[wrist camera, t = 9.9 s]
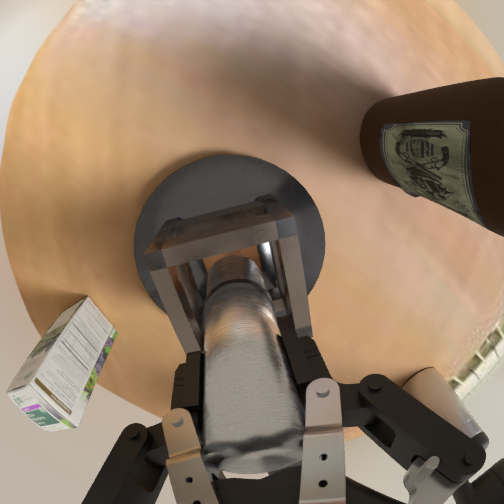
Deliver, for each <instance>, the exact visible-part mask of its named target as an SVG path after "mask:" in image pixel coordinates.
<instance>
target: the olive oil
mask: <svg viewBox="0 0 504 504" xmlns="http://www.w3.org/2000/svg"><path fill="white" fill-rule="evenodd" d="M360 140H361V148H362V152H363V155H364V158H365V160H366V163H367V164H368V166H369V168H370V169H371V171H372V172H373V173H374V174H375V175H376V176H377V177H378V178H380V179H381V180H382V181H384V182H386V183H388V184H391V185H393V186H396V187H399V188H402V189H403V190H404V192H406V193H407V194H409V195H411V196H413V197H419V196H422V197H424V198H426V199H429V200H431V201H433V202H435V203H438V204H440V205H442V206H444V207H446V208H448V209H450V210H452V211H454V212H456V213H458V214H460V215H462V216H464V217H466V218H468V219H470V220H472V221H474V222H476V223H478V224H479V225H481V226H483V227H485V228H487V229H488V230H490V231H492V232H494V233H496V234H498V235H501V236H503V237H504V78H503V77H496V78H487V79H481V80H474V81H469V82H463V83H458V84H452V85H447V86H442V87H437V88H433V89H428V90H423V91H419V92H415V93H410V94H405V95H401V96H396V97H392V98H388V99H384V100H381V101H379V102H377V103H376V104H374V105H373V106H372V107H371V108H370V109H369V111H368V112H367V113H366V115H365V117H364V120H363V123H362V126H361V134H360Z"/></svg>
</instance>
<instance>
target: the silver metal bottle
mask: <svg viewBox="0 0 504 504" xmlns="http://www.w3.org/2000/svg"><path fill="white" fill-rule="evenodd" d="M203 321H204V324H205V341H204V374H203V450H204V452H205V453H206V455H207V457H208V458H209V460H210V461H211V462H212V463H213V464H214V465H215V467H216V468H217V469H220V470H222V471H226V472H231V473H238V474H256V473H265V472H271V471H275V470H279V469H282V468H285V467H288V466H290V465H293V464H295V463H297V462H299V461H300V460H302V456H303V436H304V430H305V422H306V410H305V407H304V404H303V401H302V398H301V395H300V393H299V391H298V388H297V385H296V382H295V378H294V375H293V372H292V369H291V366H290V363H289V360H288V357H287V354H286V351H285V348H284V345H283V341H282V338H281V334H280V331H279V328H278V325H277V321H276V318H275V307H274V304H273V301H272V298H271V296H270V294H269V293H268V291H267V290H266V288H265V285H264V282H263V279H262V276H261V273H260V270H259V268H258V266H257V265H256V264H255V262H253V261H252V260H251V259H249V258H247V257H245V256H241V255H229V256H225V257H223V258H221V259H219V260H218V261H216V262H215V263H214V264H213V265H212V267H211V269H210V270H209V273H208V281H207V297H206V299H205V302H204V307H203Z"/></svg>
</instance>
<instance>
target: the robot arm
mask: <svg viewBox="0 0 504 504" xmlns="http://www.w3.org/2000/svg"><path fill="white" fill-rule="evenodd" d="M280 334H281V338H282V341H283V345H284V348H285V351H286V354H287V357H288V360H289V363H290V366H291V369H292V372H293V375H294V378H295V382H296V385H297V388H298V391H299V393H300V395H301V398H302V401H303V404H304V407H305V410H306V422H305V430H304V436H303V456H302V465H299V466H295V467H291V468H287V469H283V470H281V471H279V472H276V473H274V474H272V475H270V476H267V477H265V478H262V479H241V478H229V479H226V477H225V476H224V474H223V472H222V470H220V469H217V468H216V467H215V465H214V464H213V463H212V462H211V461H210V460H209V458H208V457H207V455H206V453H205V452H204V450H203V374H204V353H203V351H202V350H199V351H194V352H189V353H187V358H186V363H183V364H180V365H179V366H178V368H177V370H176V371H175V377H174V385H173V386H174V387H173V394H172V402H171V410H170V411H169V412H167V413H166V414H165V416H164V417H163V420H162V422H161V423H159V424H156V425H154V426H151V427H148V428H146V427H145V426H144V425H142V424H139V423H133V424H130V425H128V426H127V427H126V428H125V429H124V430H123V431H122V433H121V435H120V436H119V438H118V440H117V442H116V443H115V445H114V447H113V449H112V451H111V452H110V454H109V456H108V457H107V459H106V461H105V463H104V465H103V466H102V468H101V470H100V472H99V473H98V475H97V477H96V479H95V481H94V483H93V484H92V486H91V488H90V490H89V491H88V493H87V495H86V497H85V498H84V501H83V502H82V504H155V502H156V500H157V498H158V496H159V493H160V491H161V489H162V487H163V484H164V481H165V480H166V477H167V475H168V474H169V478H170V482H171V485H172V489H173V492H174V496H175V499H176V503H177V504H406V503H403V502H400V501H398V500H396V499H393V498H390V497H388V496H386V495H384V494H381V493H379V492H377V491H375V490H373V489H370V488H368V487H366V486H364V485H362V484H360V483H358V482H356V481H354V480H352V479H350V478H349V477H347V476H345V451H344V432H343V427H354V426H358V427H359V428H360V429H361V430H362V431H363V432H364V433H365V434H366V435H367V436H369V437H370V438H371V439H372V440H373V441H374V442H375V443H376V444H377V445H378V446H379V447H381V448H382V449H383V450H384V451H385V452H386V453H387V454H389V455H390V456H391V457H392V458H393V459H394V460H395V461H396V462H398V463H399V464H400V465H401V466H402V467H403V468H404V469H406V470H407V472H406V474H405V475H404V479H403V483H404V486H405V488H406V489H407V490H408V492H409V495H410V499H409V503H408V504H443V503H444V502H445V501H446V500H447V499H448V498H449V497H450V496H451V495H453V497H454V499H455V502H456V504H504V458H503V459H501V460H499V461H498V462H497V463H495V464H494V465H493V466H492V467H491V468H490V469H488V470H487V471H486V472H484V473H483V474H482V475H481V476H479V477H478V478H477V479H476V480H474V481H473V482H472V483H469V481H468V479H469V478H470V477H472V476H473V475H474V474H475V473H477V472H478V471H479V470H480V469H481V468H482V466H483V465H484V463H485V459H486V452H485V449H486V448H487V446H488V444H489V439H488V437H487V436H486V434H485V433H484V432H483V430H482V429H481V427H480V426H479V424H478V423H477V422H476V420H475V419H474V418H473V416H472V415H471V414H470V412H469V411H468V410H467V408H466V407H465V406H464V404H463V402H462V401H461V399H460V398H459V397H458V395H457V394H456V393H455V392H454V390H453V389H452V388H451V386H450V385H449V384H448V383H447V381H446V380H445V379H444V378H443V376H442V375H441V374H440V373H439V372H438V371H437V370H436V369H435V368H427V369H425V370H422V371H421V372H419V373H417V374H416V375H415V376H413V377H412V378H411V379H410V380H409V381H408V382H407V383H406V384H405V385H404V386H403V387H402V388H400V387H399V386H398V385H396V384H395V383H394V382H392V381H391V380H390V379H388V378H387V377H385V376H384V375H381V374H371V375H368V376H366V377H364V378H363V379H362V380H361V381H360V383H358V384H341V383H338V382H336V381H335V380H334V379H333V378H332V377H331V375H330V373H329V371H328V369H327V367H326V365H325V362H324V360H323V358H322V356H321V354H320V352H319V350H318V347H317V345H316V343H315V341H314V340H313V339H312V338H310V337H309V336H308V335H306V336H303V337H299V338H298V336H297V333H296V331H295V329H290V330H286V331H283V332H280Z"/></svg>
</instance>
